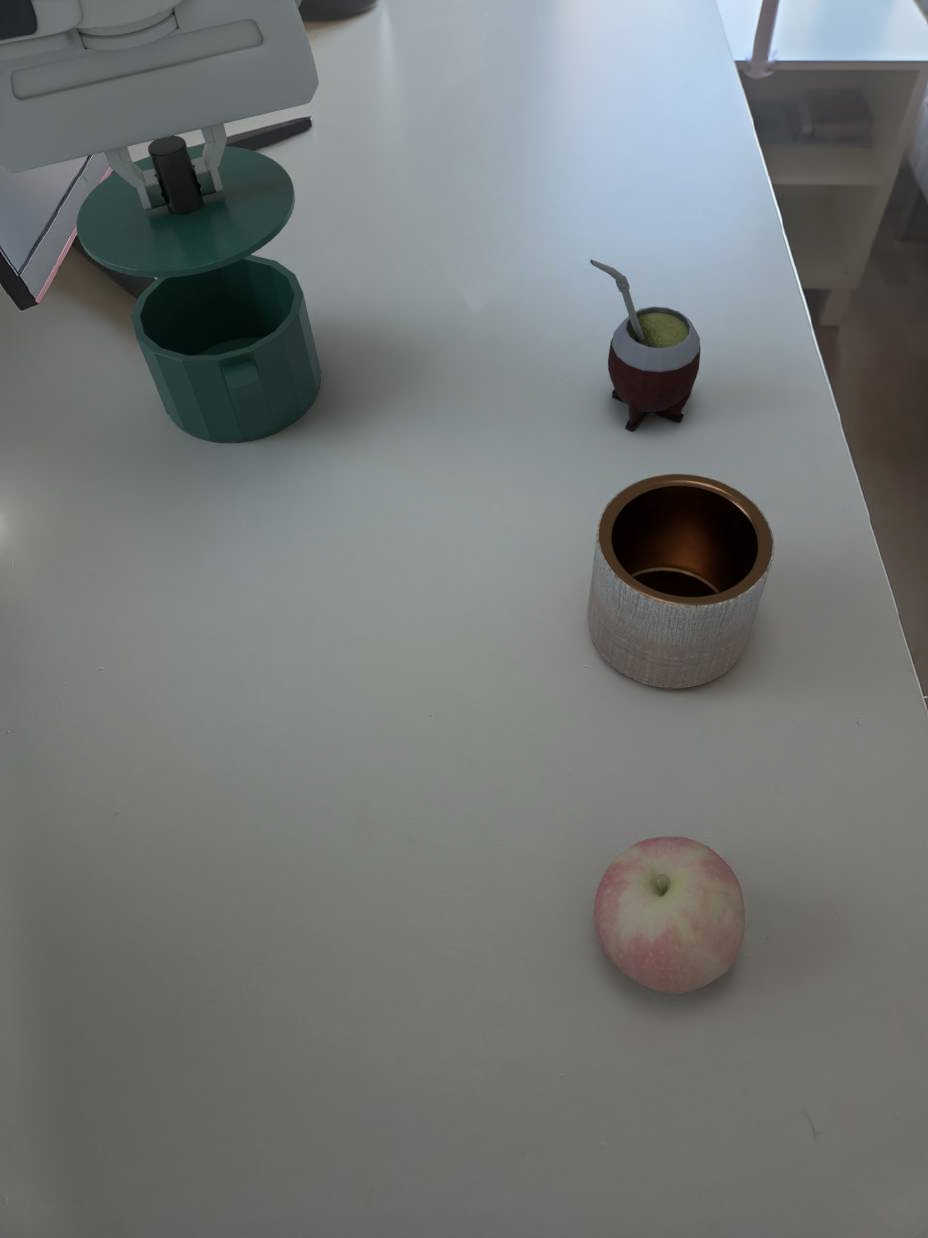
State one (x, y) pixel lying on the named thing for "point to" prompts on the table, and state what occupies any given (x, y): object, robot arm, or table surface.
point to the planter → (677, 579)
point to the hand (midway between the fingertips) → (182, 196)
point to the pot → (230, 349)
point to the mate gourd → (652, 358)
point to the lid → (186, 213)
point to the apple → (670, 914)
